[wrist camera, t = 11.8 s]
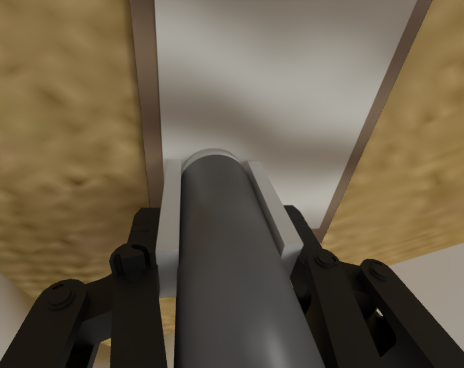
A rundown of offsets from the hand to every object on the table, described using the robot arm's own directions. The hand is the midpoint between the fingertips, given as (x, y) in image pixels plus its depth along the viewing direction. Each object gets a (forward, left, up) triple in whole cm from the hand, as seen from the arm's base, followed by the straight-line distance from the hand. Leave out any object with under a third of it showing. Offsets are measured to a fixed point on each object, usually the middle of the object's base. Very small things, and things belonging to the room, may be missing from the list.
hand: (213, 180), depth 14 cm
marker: (0, 0, 0) cm, 0 cm away
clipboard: (-2, +3, -1) cm, 4 cm away
